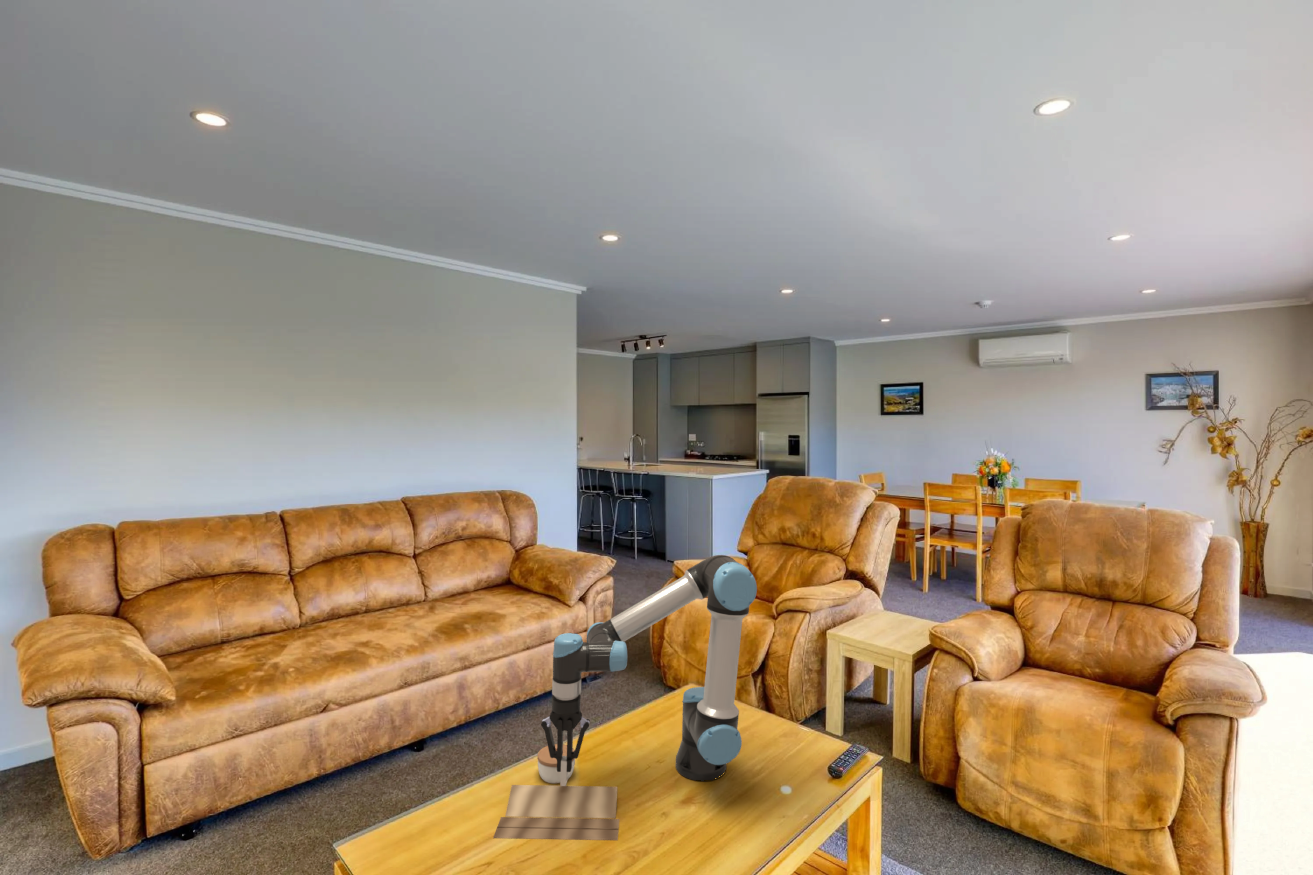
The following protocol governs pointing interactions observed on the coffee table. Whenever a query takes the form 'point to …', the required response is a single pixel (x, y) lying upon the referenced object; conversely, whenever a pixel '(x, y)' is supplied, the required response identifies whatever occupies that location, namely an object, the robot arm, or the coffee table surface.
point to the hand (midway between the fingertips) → (563, 782)
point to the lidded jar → (551, 765)
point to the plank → (562, 801)
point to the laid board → (557, 828)
